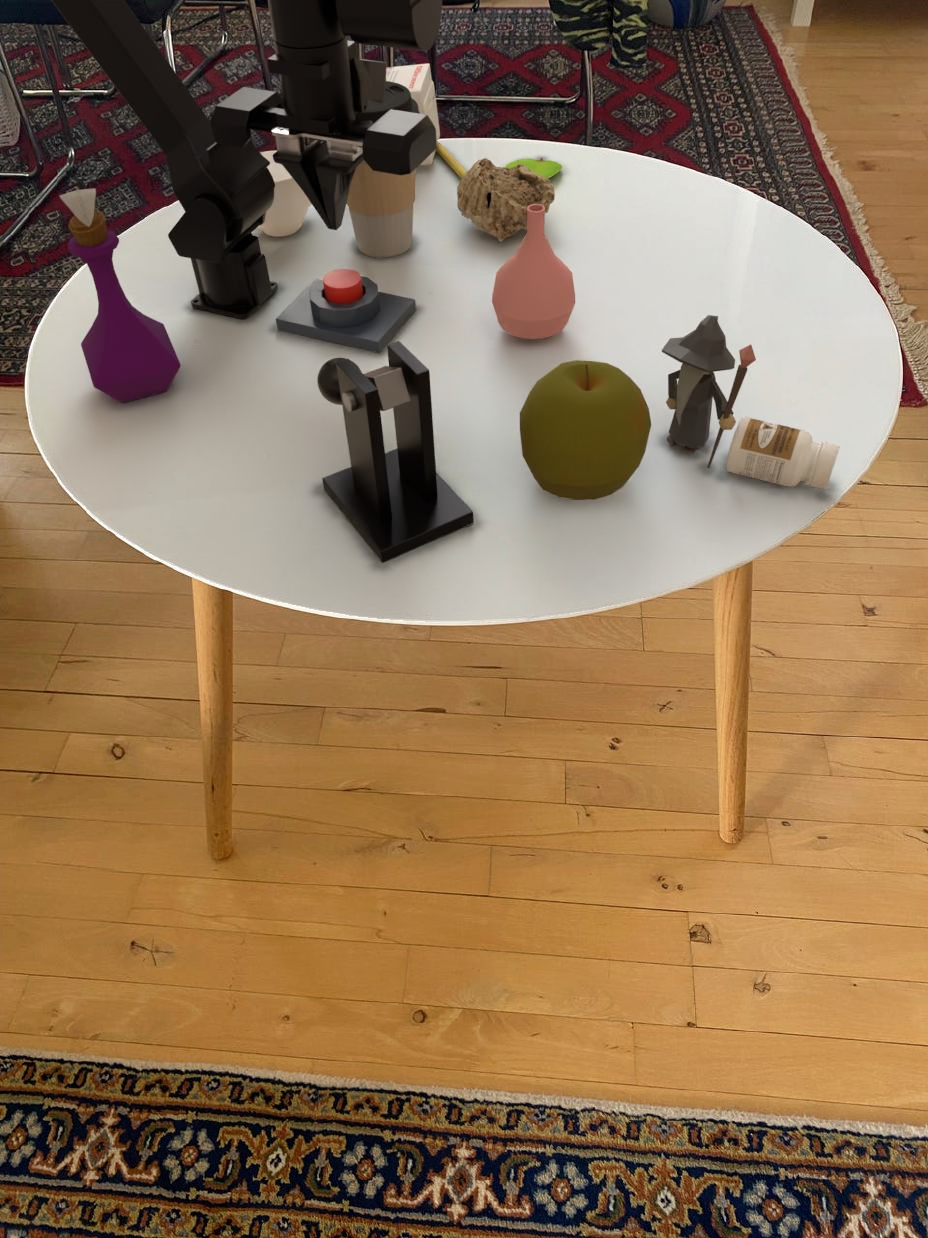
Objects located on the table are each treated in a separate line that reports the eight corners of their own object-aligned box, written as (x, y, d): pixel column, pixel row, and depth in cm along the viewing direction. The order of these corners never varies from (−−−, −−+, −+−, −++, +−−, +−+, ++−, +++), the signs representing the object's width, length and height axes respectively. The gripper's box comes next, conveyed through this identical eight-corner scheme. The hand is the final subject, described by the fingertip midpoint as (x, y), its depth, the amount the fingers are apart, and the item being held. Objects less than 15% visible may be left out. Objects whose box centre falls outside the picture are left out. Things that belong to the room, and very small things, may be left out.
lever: (319, 409, 79) (305, 365, 77) (359, 394, 80) (346, 350, 78) (377, 423, 68) (361, 372, 67) (422, 405, 69) (407, 355, 68)
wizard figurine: (637, 442, 82) (653, 311, 73) (676, 411, 84) (697, 281, 75) (722, 485, 78) (750, 353, 69) (761, 452, 80) (793, 320, 71)
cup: (232, 229, 109) (219, 167, 104) (302, 197, 113) (293, 136, 108) (276, 252, 105) (264, 189, 100) (346, 218, 110) (339, 156, 105)
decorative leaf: (579, 175, 115) (580, 166, 114) (521, 198, 111) (521, 189, 111) (537, 156, 119) (537, 148, 118) (479, 178, 116) (479, 169, 115)
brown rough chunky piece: (483, 274, 106) (569, 232, 103) (454, 222, 101) (544, 176, 98) (471, 215, 113) (552, 174, 110) (444, 163, 107) (528, 119, 104)
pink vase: (537, 364, 90) (541, 238, 81) (475, 334, 93) (472, 210, 84) (590, 328, 93) (599, 204, 84) (528, 301, 97) (531, 179, 88)
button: (318, 301, 93) (315, 283, 92) (336, 282, 95) (334, 265, 94) (352, 308, 92) (350, 291, 91) (369, 289, 94) (367, 272, 93)
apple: (551, 538, 74) (557, 419, 66) (497, 464, 80) (496, 346, 72) (665, 500, 77) (685, 381, 69) (605, 431, 83) (616, 314, 75)
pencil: (427, 142, 121) (433, 146, 122) (469, 188, 113) (476, 193, 113) (432, 135, 121) (438, 139, 122) (475, 181, 112) (481, 185, 113)
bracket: (323, 489, 79) (299, 350, 70) (410, 454, 82) (398, 316, 72) (382, 563, 73) (364, 422, 64) (474, 523, 76) (469, 382, 66)
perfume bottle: (91, 374, 91) (20, 178, 77) (172, 354, 93) (116, 159, 79) (105, 418, 86) (32, 219, 73) (189, 396, 88) (134, 198, 75)
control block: (277, 329, 95) (272, 301, 93) (318, 289, 100) (314, 261, 97) (379, 353, 92) (376, 324, 90) (416, 310, 97) (414, 281, 94)
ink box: (337, 174, 117) (432, 166, 115) (319, 99, 111) (420, 89, 109) (350, 143, 123) (442, 135, 121) (335, 70, 117) (431, 60, 115)
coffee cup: (444, 236, 106) (437, 87, 95) (394, 275, 101) (380, 122, 90) (374, 216, 110) (359, 70, 99) (321, 252, 105) (300, 103, 94)
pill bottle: (745, 404, 77) (846, 427, 75) (735, 447, 81) (831, 471, 79) (730, 438, 75) (834, 463, 73) (721, 481, 78) (820, 506, 76)
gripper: (460, 15, 79) (465, 205, 91) (262, -9, 85) (290, 174, 96) (399, 64, 73) (413, 262, 84) (188, 35, 78) (228, 225, 90)
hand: (335, 227), depth 89 cm, fingers closed
